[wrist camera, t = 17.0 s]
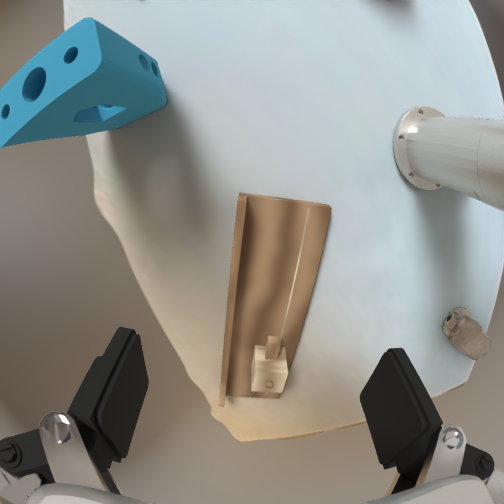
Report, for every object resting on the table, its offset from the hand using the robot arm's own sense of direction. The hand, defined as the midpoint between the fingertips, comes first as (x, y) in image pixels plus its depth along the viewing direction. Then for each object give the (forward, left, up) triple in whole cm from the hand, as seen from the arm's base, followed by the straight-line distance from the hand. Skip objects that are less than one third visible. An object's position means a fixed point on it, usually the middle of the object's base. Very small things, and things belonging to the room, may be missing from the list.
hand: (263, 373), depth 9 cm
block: (+17, -12, -28) cm, 35 cm away
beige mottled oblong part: (-53, +22, -29) cm, 64 cm away
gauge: (-6, +26, -27) cm, 38 cm away
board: (-4, +19, -28) cm, 34 cm away
